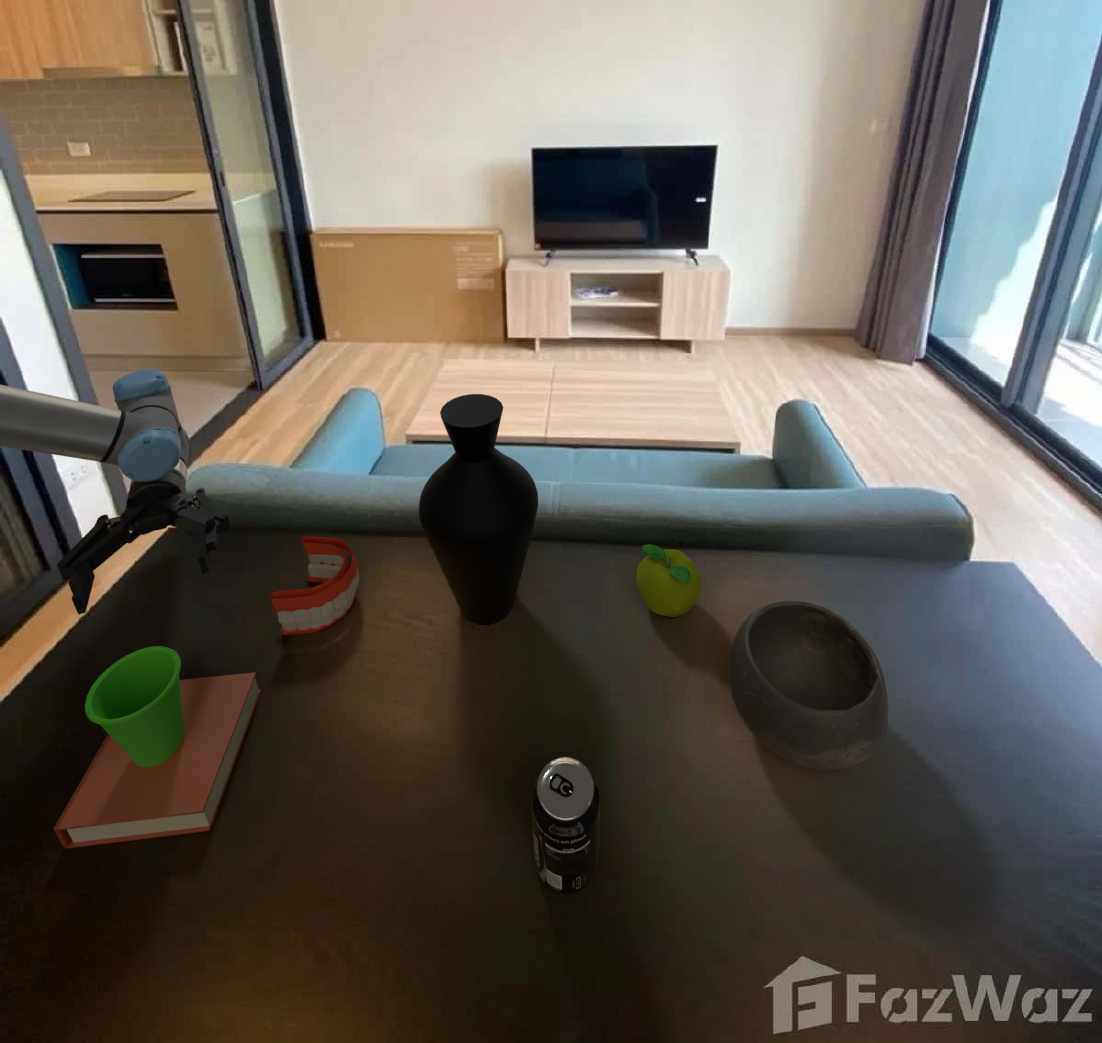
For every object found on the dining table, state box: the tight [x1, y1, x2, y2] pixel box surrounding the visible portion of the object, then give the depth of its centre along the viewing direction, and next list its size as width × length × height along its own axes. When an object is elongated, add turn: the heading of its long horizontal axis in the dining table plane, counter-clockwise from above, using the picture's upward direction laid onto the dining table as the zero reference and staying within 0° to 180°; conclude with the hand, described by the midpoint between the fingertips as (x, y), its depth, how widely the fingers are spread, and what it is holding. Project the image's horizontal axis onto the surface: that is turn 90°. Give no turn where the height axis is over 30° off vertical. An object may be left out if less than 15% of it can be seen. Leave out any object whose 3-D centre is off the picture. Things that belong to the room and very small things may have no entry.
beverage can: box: [530, 756, 601, 895], centre depth 60 cm, size 7×7×12 cm
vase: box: [418, 393, 539, 626], centre depth 86 cm, size 17×17×35 cm
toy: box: [269, 535, 360, 636], centre depth 91 cm, size 12×10×8 cm
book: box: [53, 671, 262, 850], centre depth 71 cm, size 15×16×4 cm
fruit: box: [635, 543, 702, 618], centre depth 89 cm, size 9×9×10 cm
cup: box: [84, 645, 184, 767], centre depth 68 cm, size 9×9×11 cm
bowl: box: [727, 600, 889, 771], centre depth 73 cm, size 18×18×13 cm
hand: (143, 584), depth 76 cm, fingers open, 13 cm apart
